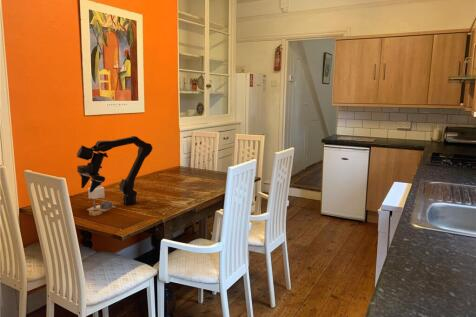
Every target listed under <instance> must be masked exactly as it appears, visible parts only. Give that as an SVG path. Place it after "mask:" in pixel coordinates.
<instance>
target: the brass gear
mask: <svg viewBox="0 0 476 317" xmlns="http://www.w3.org/2000/svg"><path fill="white" fill-rule="evenodd" d="M88 215H89V216H95V217H96V216H100V215H103V211H102V209H92V210H88Z"/></svg>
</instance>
